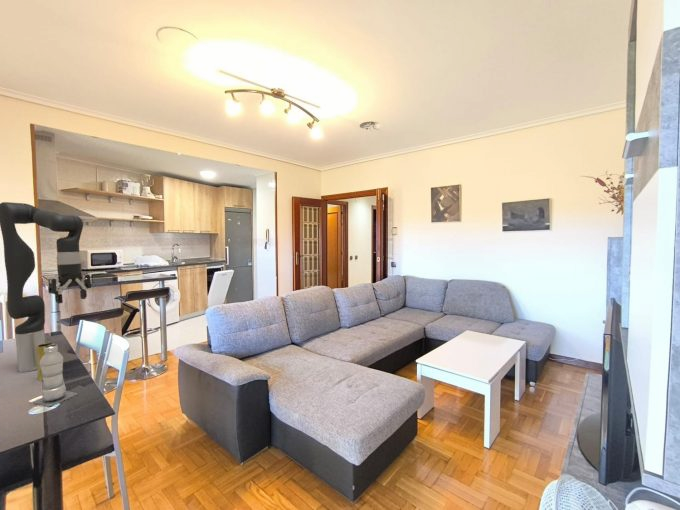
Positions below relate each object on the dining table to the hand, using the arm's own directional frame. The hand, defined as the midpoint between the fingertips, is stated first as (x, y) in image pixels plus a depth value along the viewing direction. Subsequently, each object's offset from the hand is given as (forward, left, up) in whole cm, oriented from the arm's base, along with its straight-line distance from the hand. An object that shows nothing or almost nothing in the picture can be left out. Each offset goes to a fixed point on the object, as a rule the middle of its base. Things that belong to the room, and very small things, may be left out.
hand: (71, 300), depth 128 cm
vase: (-12, -4, -33) cm, 36 cm away
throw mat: (+11, -14, -33) cm, 38 cm away
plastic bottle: (+13, -15, -33) cm, 38 cm away
